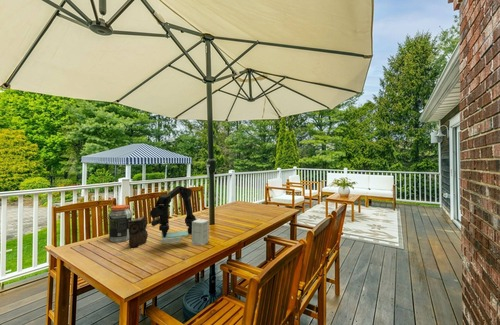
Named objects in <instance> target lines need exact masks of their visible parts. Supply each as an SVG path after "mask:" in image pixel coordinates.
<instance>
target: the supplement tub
mask: <svg viewBox="0 0 500 325" xmlns="http://www.w3.org/2000/svg"><path fill="white" fill-rule="evenodd" d="M110 210H111V211H110V212H109V213H108V236H109V237H108V238H109V241H110V242H113V243H119V242H121V243H122V242H125V241H129V221H132V220H133V219H132V218H133V216H132V210H131V209H130V205H129V204H117V205H112V206H110Z"/></svg>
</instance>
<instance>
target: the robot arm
mask: <svg viewBox="0 0 500 325" xmlns="http://www.w3.org/2000/svg"><path fill="white" fill-rule="evenodd" d="M177 195H180V197H181V199H183V203H184V207H185V213H186V214H185V215H186V217H185V218H184V224H185V226H186V227H187V231H188V235H189V234H191V235H192V222H193V221H195V220H197V218H196V216H195V215H194V214H193V208H192V203H191V196H192V189H191V188H187V187H185V186H182V185H177V186H175V188H173V189H172V190H171V191H169V192H168V193H166V194H163V195H161V196H158V198H157V201H156V203H155V205H154V206H153V207H152V209H151V210H150V212H149V215H150V217H151V218H152V219H153V220H151V221H150V224H151V226H152V227H153V228H154V227H155V226H157V225H159V226H158V227H159V228H158V229H159V230H158V231H161V234H162V233H163V237H164V238H165V237H166V234H167V233H169V230H170V224H169V223H170V221H169V208H171V205H170V203H171V202H172V199H173V198H175V197H176V196H177Z"/></svg>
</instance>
